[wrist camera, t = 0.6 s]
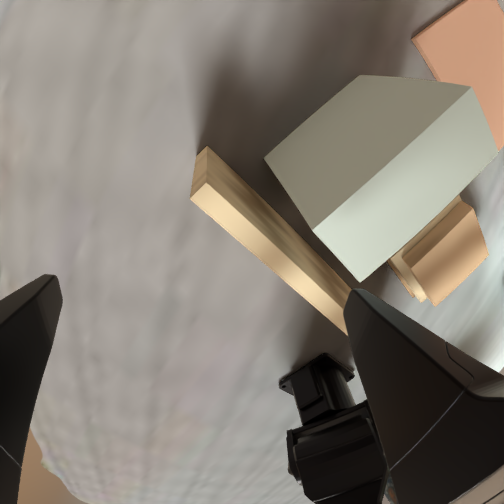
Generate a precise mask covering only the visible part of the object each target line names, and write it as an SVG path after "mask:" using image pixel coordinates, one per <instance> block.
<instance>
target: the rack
mask: <svg viewBox="0 0 504 504" xmlns="http://www.w3.org/2000/svg"><path fill="white" fill-rule="evenodd" d="M190 199H191V200H192V201H193V202H194V203H195V204H196V205H198V206H199V207H200V208H201V209H202V210H203V211H204V212H206V213H207V214H208V215H209V216H210V217H211V218H212V219H214V220H215V221H216V222H217V223H218V224H219V225H221V226H222V227H223V228H224V229H225V230H226V231H227V232H229V233H230V234H231V235H232V236H233V237H234V238H236V239H237V240H238V241H239V242H240V243H241V244H242V245H244V246H245V247H246V248H247V249H248V250H249V251H251V252H252V253H253V254H254V255H255V256H256V257H257V258H259V259H260V260H261V261H262V262H263V263H264V264H266V265H267V266H268V267H269V268H270V269H271V270H272V271H274V272H275V273H276V274H277V275H278V276H279V277H281V278H282V279H283V280H284V281H285V282H286V283H287V284H289V285H290V286H291V287H292V288H293V289H294V290H296V291H297V292H298V293H299V294H300V295H301V296H302V297H304V298H305V299H306V300H307V301H308V302H309V303H311V304H312V305H313V306H314V307H315V308H316V309H317V310H319V311H320V312H321V313H322V314H323V315H324V316H326V317H327V318H328V319H329V320H330V321H331V322H332V323H334V324H335V325H336V326H337V327H338V328H339V329H341V330H342V331H343V332H344V333H345V334H346V335H347V336H348V334H347V330H346V326H345V321H344V317H343V310H344V307H345V304H346V301H347V298H348V296H349V293H350V291H351V290H352V289H351V288H350V287H349V286H348V285H347V284H346V283H345V282H344V281H343V280H342V279H341V278H340V277H339V275H338V274H337V273H336V272H335V271H334V270H333V269H332V268H331V267H330V266H329V265H328V264H327V263H326V262H325V261H324V260H323V259H322V258H321V257H320V256H319V255H318V254H317V253H316V252H315V251H314V250H313V249H312V248H311V247H310V245H309V244H308V243H307V242H306V241H305V240H304V239H303V238H302V237H301V236H300V235H299V234H298V233H297V232H296V231H295V230H294V229H293V228H292V227H291V226H290V225H289V224H288V223H287V222H286V221H285V220H284V219H283V218H282V217H281V216H280V215H279V214H278V213H277V212H276V211H275V210H274V209H273V208H272V207H271V206H270V205H269V204H268V203H267V202H266V201H265V200H263V199H262V198H261V197H260V196H259V195H258V194H257V193H256V192H255V191H254V190H253V189H252V188H251V187H250V186H249V185H248V184H247V183H246V182H245V181H244V180H243V179H242V178H241V177H240V176H239V175H238V174H237V173H236V172H234V171H233V170H232V169H231V168H230V167H229V166H228V165H227V164H226V163H225V162H224V161H223V160H222V159H221V158H220V157H219V156H218V155H217V154H215V153H214V152H213V151H212V150H211V149H210V148H209V147H208V146H206V147H205V148H204V149H203V150H202V151H201V152H200V153H199V154H198V155H197V156H196V161H195V168H194V174H193V181H192V188H191V194H190Z"/></svg>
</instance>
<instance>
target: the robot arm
mask: <svg viewBox="0 0 504 504" xmlns="http://www.w3.org/2000/svg"><path fill="white" fill-rule="evenodd" d="M62 303H63V299H62V294H61V290H60V285H59V281H58V278H57V276H56V275H49V274H44V275H42V276H40V277H39V278H37V279H35V280H34V281H32V282H30V283H28V284H27V285H25V286H23V287H22V288H20V289H18V290H17V291H15V292H13V293H12V294H10V295H8V296H7V297H5V298H4V299H2V300H0V504H17V500H18V491H19V483H20V476H21V470H22V468H21V467H22V463H23V456H24V452H25V446H26V441H27V437H28V432H29V427H30V423H31V419H32V415H33V411H34V407H35V403H36V399H37V395H38V391H39V388H40V384H41V381H42V377H43V374H44V371H45V368H46V364H47V361H48V358H49V355H50V352H51V349H52V345H53V341H54V337H55V332H56V328H57V324H58V320H59V316H60V312H61V308H62ZM343 317H344V321H345V326H346V330H347V334H348V338H349V342H350V347H351V351H352V355H353V358H354V361H355V364H356V367H357V370H358V373H359V376H360V379H361V382H362V385H363V388H364V391H365V394H366V397H367V399H366V400H364V401H363V402H362V403H359V404H357V405H356V404H355V402H354V399H353V397H352V394H351V392H350V389H349V387H348V385H347V382H348V381H350V380H351V379H353V378H354V377H355V375H354V373H353V372H352V371H351V370H349V369H348V368H346V367H345V366H344V365H342V364H341V363H340V362H338V361H337V360H335V359H334V358H333V357H331V356H330V355H328V354H326V353H325V354H322V355H320V356H319V357H318V358H316V359H315V360H313V361H312V362H310V363H309V364H307V365H306V366H304V367H303V368H301V369H300V370H298V371H297V372H295V373H294V374H292V375H291V376H289V377H288V378H286V379H285V380H283V381H282V382H280V383H279V388H280V389H281V390H283V391H285V392H287V393H289V394H291V395H293V396H294V398H295V402H296V405H297V408H298V411H299V415H300V418H301V422H302V425H303V426H302V427H299V428H296V429H293V430H292V429H291V430H288V431H287V438H286V440H287V450H288V461H289V462H288V472H289V474H291V475H293V476H294V477H295V479H296V481H297V482H298V484H299V485H303V489H304V494H305V495H306V496H307V497H308V498H309V499H310V500H311V501H312V502H314V503H315V504H382V499H383V496H384V492H385V489H386V485H387V481H388V477H389V472H390V475H391V479H392V482H393V486H394V490H395V493H396V497H397V501H398V504H504V376H503V375H502V374H500V373H498V372H496V371H495V370H493V369H491V368H489V367H488V366H486V365H484V364H482V363H481V362H479V361H477V360H476V359H474V358H472V357H470V356H469V355H467V354H465V353H464V352H462V351H461V350H459V349H457V348H456V347H454V346H453V345H451V344H450V343H448V342H445V340H443V339H442V338H440V337H439V336H437V335H436V334H434V333H433V332H431V331H430V330H428V329H426V328H425V327H423V326H422V325H420V324H419V323H417V322H416V321H414V320H412V319H411V318H409V317H408V316H406V315H405V314H403V313H401V312H400V311H398V310H397V309H395V308H393V307H392V306H390V305H389V304H387V303H386V302H384V301H382V300H381V299H379V298H378V297H376V296H374V295H373V294H371V293H370V292H368V291H366V290H365V289H352V290H351V291H350V293H349V296H348V298H347V301H346V304H345V307H344V310H343ZM384 455H385V457H386V460H385V457H384ZM386 461H387V463H386ZM387 464H388V467H387ZM388 468H389V470H390V471H388Z"/></svg>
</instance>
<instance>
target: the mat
mask: <svg viewBox="0 0 504 504" xmlns="http://www.w3.org/2000/svg"><path fill="white" fill-rule="evenodd" d="M411 40H412V42H413V43H414V45H415V46H416V48H417V49H418V51H419V52H420V54H421V55H422V57H423V58H424V60H425V62H426V63H427V65H428V67H429V68H430V70H431V72H432V73H433V75H434V77H435V78H436V80H437V81H439V82H447V83H453V84H459V85H465V86H471V87H472V88H473V90H474V92H475V94H476V97H477V99H478V101H479V103H480V106H481V108H482V110H483V113H484V115H485V117H486V120H487V122H488V125H489V127H490V130H491V133H492V135H493V138H494V141H495V143H496V146H497V149H498V151H499V150H500V149H501V148H502V147H503V146H504V13H503V11H502V9H501V8H500V6H499V4H498V2H497V0H464V1H463V2H461V3H460V4H459V5H457V6H456V7H454V8H453V9H451V10H450V11H449V12H447V13H446V14H444V15H443V16H442V17H440V18H439V19H438V20H436V21H435V22H433V23H432V24H431V25H429V26H428V27H427V28H425V29H424V30H423V31H421V32H420V33H419V34H417V35H416V36H415V37H413V38H412V39H411Z"/></svg>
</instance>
